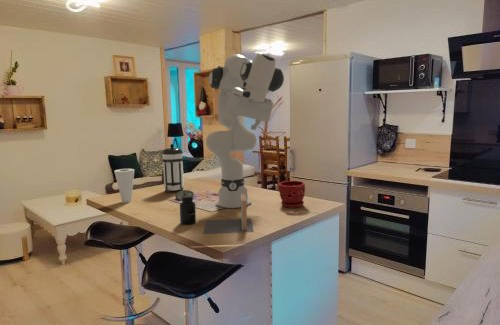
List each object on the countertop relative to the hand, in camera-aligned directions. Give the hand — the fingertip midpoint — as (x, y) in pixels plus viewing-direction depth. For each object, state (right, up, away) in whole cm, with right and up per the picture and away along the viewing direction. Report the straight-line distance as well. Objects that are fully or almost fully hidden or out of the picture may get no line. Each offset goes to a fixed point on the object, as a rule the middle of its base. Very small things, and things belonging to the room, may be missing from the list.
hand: (243, 127), depth 139 cm
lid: (-35, -35, +56) cm, 75 cm away
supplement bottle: (-25, -41, +11) cm, 49 cm away
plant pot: (+24, -37, +35) cm, 56 cm away
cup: (-67, -37, +52) cm, 92 cm away
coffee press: (-45, -33, +76) cm, 94 cm away
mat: (-6, -41, +4) cm, 42 cm away
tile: (0, -41, +4) cm, 41 cm away
